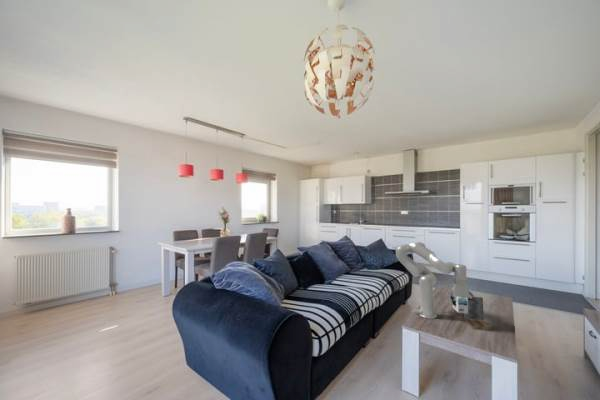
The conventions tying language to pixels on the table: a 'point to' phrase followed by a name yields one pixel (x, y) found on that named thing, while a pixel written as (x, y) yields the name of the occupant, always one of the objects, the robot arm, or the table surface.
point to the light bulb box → (461, 305)
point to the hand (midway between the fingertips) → (460, 305)
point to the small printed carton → (476, 314)
